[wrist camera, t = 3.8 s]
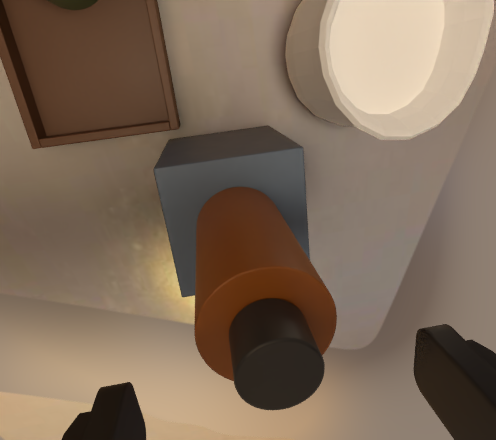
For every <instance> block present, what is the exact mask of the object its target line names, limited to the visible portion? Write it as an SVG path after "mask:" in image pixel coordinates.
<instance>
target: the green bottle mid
mask: <svg viewBox="0 0 496 440" xmlns="http://www.w3.org/2000/svg"><path fill="white" fill-rule="evenodd" d="M47 1H49V2H51V3H53V4H55V5H57V6H59V7H61V8H64V9H68V10H81V9H85V8H88V7H90V6H92V5H93V4H94V3H96V2H97V1H98V0H47Z"/></svg>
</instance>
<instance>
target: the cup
mask: <svg viewBox="0 0 496 440" xmlns="http://www.w3.org/2000/svg"><path fill="white" fill-rule="evenodd" d="M493 11H494V0H302V1H301V3H300V4H299V6H298V8H297V9H296V11H295V13H294V16H293V19H292V22H291V25H290V28H289V31H288V34H287V38H286V51H285V59H286V65H287V71H288V77H289V79H290V81H291V84H292V86H293V88H294V91H295V93H296V95H297V98H298V99H299V100H300V101H301V102H302V103H303V104H304V105H305V106H306V107H307V108H308V109H309V110H310V111H311V112H312V113H313V114H314V115H315V116H318V117H320V118H322V119H325V120H327V121H329V122H332V123H335V124H338V125H341V126H352V127H356V128H358V129H360V130H362V131H364V132H366V133H368V134H370V135H372V136H374V137H376V138H378V139H380V140H409V139H411V138H414V137H416V136H418V135H420V134H422V133H424V132H426V131H429V130H431V129H433V128H435V127H437V126H438V125H439V124H440V123H441V122H442V121H443V120H444V119H445V118H446V117H447V116H448V115H449V114H450V113H451V112H452V111H453V110H454V109H456V108H457V107H458V105H459V104H460V103H461V101H462V99H463V97H464V95H465V93H466V92H467V90H468V88H469V86H470V84H471V83H472V81H473V79H474V77H475V75H476V72H477V69H478V66H479V63H480V61H481V58H482V55H483V52H484V49H485V45H486V41H487V37H488V33H489V29H490V26H491V22H492V18H493Z"/></svg>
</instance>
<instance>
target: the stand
mask: <svg viewBox="0 0 496 440" xmlns="http://www.w3.org/2000/svg"><path fill="white" fill-rule="evenodd" d="M154 174H155V179H156V183H157V188H158V192H159V196H160V201H161V205H162V210H163V214H164V219H165V223H166V228H167V232H168V237H169V241H170V246H171V250H172V255H173V259H174V263H175V268H176V272H177V277H178V281H179V286H180V290H181V295H182V297H188V296H193V295H195V285H196V229H197V219H198V216H199V213H200V211H201V209H202V207H203V206H204V204H205V203H206V202H207V201H208V200H209V199H210V198H211V197H212V196H214V195H215V194H217V193H218V192H220V191H222V190H225V189H228V188H232V187H249V188H253V189H256V190H258V191H260V192H262V193H264V194H265V195H267V196H268V197H269V198H270V199H271V200H272V201H273V202H274V204H275V205H276V207H277V209H278V210H279V212H280V213H281V215H282V217H283V218H284V220H285V221H286V223H287V225H288V226H289V228H290V230H291V231H292V233H293V234H294V236H295V238H296V239H297V241H298V242H299V244H300V246H301V247H302V249H303V251H304V252H305V254H306V255H307V257H308V259H309V260H310V256H309V239H308V221H307V204H306V187H305V169H304V152H303V147H302V146H300V145H298V144H297V143H295V142H294V141H292V140H290V139H289V138H287V137H286V136H284V135H283V134H281V133H279V132H278V131H276V130H275V129H273V128H271V127H270V126H264V127H256V128H249V129H242V130H235V131H227V132H220V133H213V134H206V135H198V136H191V137H184V138H177V139H170V140H169V141H168V143H167V144H166V146H165V148H164V150H163V152H162V154H161V156H160V158H159V160H158V162H157V164H156V165H155V167H154Z"/></svg>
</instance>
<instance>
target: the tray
mask: <svg viewBox="0 0 496 440" xmlns="http://www.w3.org/2000/svg"><path fill="white" fill-rule="evenodd" d="M0 57H1V60H2V63H3V66H4V68H5V71H6V74H7V77H8V80H9V83H10V86H11V88H12V91H13V94H14V97H15V100H16V103H17V106H18V108H19V111H20V114H21V117H22V120H23V123H24V126H25V128H26V131H27V134H28V137H29V140H30V143H31V146H32V148H33V149H37V148H44V147H51V146H58V145H66V144H73V143H80V142H88V141H95V140H102V139H110V138H117V137H124V136H132V135H139V134H146V133H154V132H161V131H168V130H176V129H179V127H180V121H179V115H178V110H177V105H176V99H175V94H174V88H173V83H172V78H171V72H170V67H169V62H168V56H167V51H166V45H165V40H164V35H163V29H162V24H161V18H160V13H159V8H158V2H157V0H98V1H97V2H96V3H94V4H93V5H92V6H90V7H88V8H85V9H81V10H68V9H64V8H61V7H59V6H57V5H55V4H53V3H51V2H49V1H47V0H0Z"/></svg>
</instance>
